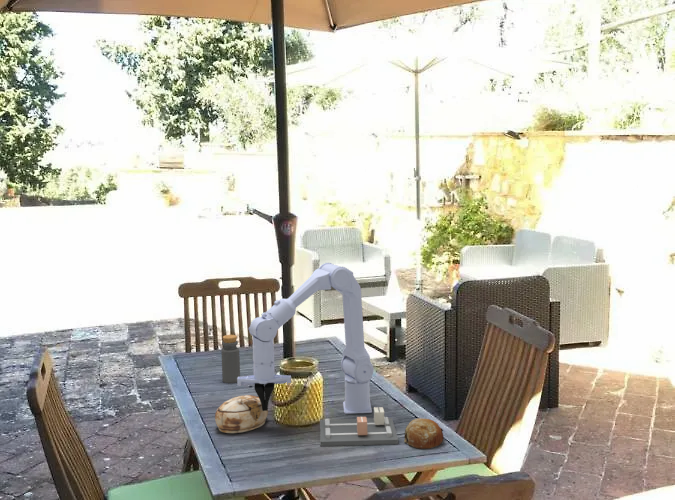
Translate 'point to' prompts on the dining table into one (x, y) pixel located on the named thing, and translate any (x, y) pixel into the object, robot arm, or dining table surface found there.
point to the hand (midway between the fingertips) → (265, 409)
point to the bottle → (230, 359)
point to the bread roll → (423, 434)
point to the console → (346, 432)
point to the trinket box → (240, 414)
